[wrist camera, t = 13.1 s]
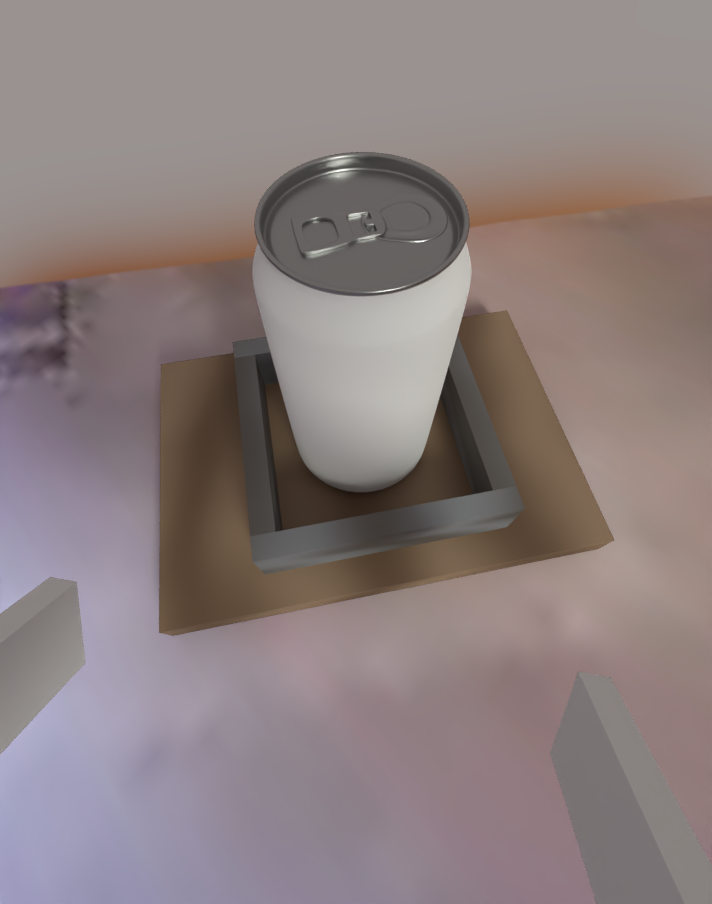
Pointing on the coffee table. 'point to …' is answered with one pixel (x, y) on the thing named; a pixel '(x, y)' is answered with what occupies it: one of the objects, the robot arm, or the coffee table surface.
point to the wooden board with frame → (357, 513)
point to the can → (361, 308)
